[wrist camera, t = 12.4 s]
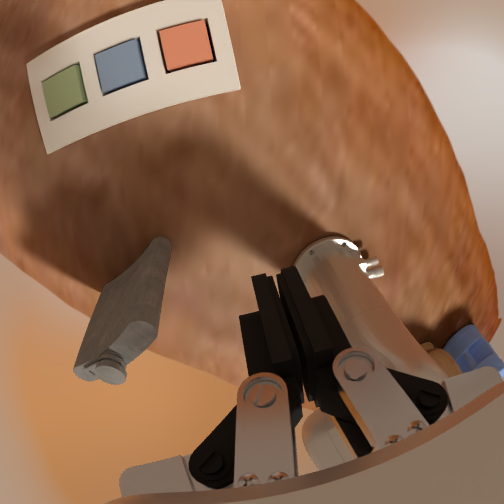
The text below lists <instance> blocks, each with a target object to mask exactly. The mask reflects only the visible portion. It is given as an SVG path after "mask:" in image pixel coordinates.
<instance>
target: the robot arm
mask: <svg viewBox="0 0 504 504" xmlns="http://www.w3.org/2000/svg"><path fill="white" fill-rule="evenodd" d="M377 264H378V258H377V257H376V256H375V257H371V258H369V259H366V260H365V259H362V255H361V253H360V250H359V249H358V248H357V246H356V245H355V244H354V243H353V242H352V241H350V240H349V239H346V238H343V237H338V236H332V237H326V238H322V239H319V240H317V241H315V242H313V243H312V244H310V245H309V246H307V247H306V248H305V249H304V250H303V251H302V252H301V253H300V255H299V256H298V257H297V259H296V261H295V263H294V265H293V267H289V268H285V269H281V274H277V275H276V277H277V283H278V289H279V294H278V291H277V288H276V286H275V283H274V280H273V277H272V276H268V277H267V276H266V274H265V273H264V274H260V275H256V276H252V277H251V278H252V282H253V287H254V291H255V295H256V299H257V304H258V308H259V311H257V312H253V313H249V314H244V315H240V316H239V320H240V326H241V332H242V338H243V345H244V351H245V357H246V362H247V368H248V374H249V377H248V378H247V379H245V380H244V381H243V382H242V384H241V385H240V387H239V389H238V394H237V405H236V406H235V407H234V408H233V409H232V410H231V412H230V413H229V414H228V415H227V416H226V417H225V419H223V420H222V422H221V423H220V424H219V425H218V426H217V427H216V428H215V429H214V430H213V431H212V433H211V434H210V435H209V436H208V437H207V438H206V439H205V440H204V441H203V442H202V443H201V444H200V445H199V446H198V447H197V448H196V449H195V450H194V452H193V453H192V454H190V455H187V456H184V457H182V456H181V455H179V456H176V457H172V458H169V459H165V460H161V461H156V462H152V463H148V464H144V465H139V466H134V467H131V468H128V469H126V470H125V471H124V472H123V473H122V474H121V477H120V480H119V482H120V490H121V494H122V498H118V499H115V500H112V501H109V502H107V503H105V504H504V381H503V379H502V377H501V375H500V373H499V372H498V370H496V369H495V368H494V367H490V366H486V367H481V368H479V369H476V370H472V371H469V372H466V373H463V374H460V375H456V376H453V377H448V375H447V374H446V373H445V371H444V370H443V369H442V368H441V366H440V365H439V364H438V363H437V362H436V361H435V360H434V359H433V358H432V357H431V356H430V355H429V354H428V353H427V352H426V351H425V350H424V349H423V348H422V346H421V345H420V344H419V343H418V342H417V341H416V340H415V338H414V337H413V336H412V334H411V333H410V332H409V331H408V329H407V328H406V327H405V325H404V324H403V322H402V321H401V320H400V318H399V317H398V316H397V314H396V313H395V311H394V310H393V309H392V308H391V306H390V305H389V303H388V302H387V301H386V299H385V298H384V297H383V295H382V294H381V293H380V291H379V290H378V288H377V287H376V286H375V284H374V283H373V282H372V281H371V279H372V278H378V277H381V276H383V275H384V270H383V267H382V266H381V265H380V266H376V267H373V268H371V269H368V270H366V268H367V267H368V266H373V265H377ZM279 295H280V297H279ZM302 383H303V384H302ZM303 386H304V389H305V392H306V395H307V398H308V401H309V402H310V401H313V400H314V402H315V405H316V408H317V407H320V408H319V409H318V410H316V411H314V412H313V413H312V414H311V415H310V416H308V418H307V419H306V420H305V422H304V424H303V427H302V440H303V443H304V446H305V449H306V451H307V453H308V455H309V456H310V458H311V460H312V461H313V462H314V464H315V465H316V466H317V468H318V469H319V470H320V471H317V472H313V473H309V474H306V475H301V476H298V463H297V451H296V450H297V449H296V436H295V427H296V425H297V424H298V423H299V421H300V419H301V418H302V417H303V414H302V405H301V404H303V403H304V394H303Z"/></svg>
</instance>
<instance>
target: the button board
mask: <svg viewBox="0 0 504 504" xmlns="http://www.w3.org/2000/svg"><path fill="white" fill-rule="evenodd" d="M201 20H205V24H208V28H209V33H210V37H211V42H212V46H213V51H214V56H215V60H216V62H212V63H207V64H203V65H198V66H194V67H190V68H186V69H182V70H179V71H175V72H172V73H168V70H167V65H166V61H165V56H164V52H163V47H162V43H161V38H160V33H159V31H161V30H165V29H168V28H172V27H176V26H180V25H184V24H188V23H192V22H196V21H201ZM134 39H136V40H138V41H139V42H141V45H142V50H143V55H144V59H145V64H146V68H147V73H148V77H149V80H146V81H143V82H140V83H137V84H134V85H131V86H128V87H126V88H123V89H120V90H118V91H115V92H113V93H103V91H102V87H101V82H100V78H99V73H98V68H97V64H96V59H95V55H96V54H99V53H101V52H103V51H105V50H108V49H110V48H113V47H115V46H118V45H120V44H123V43H125V42H128V41H131V40H134ZM26 65H27V72H28V78H29V83H30V89H31V94H32V99H33V103H34V108H35V112H36V116H37V120H38V124H39V128H40V131H41V135H42V139H43V142H44V145H45V149H46V152H47V155H48V154H50V153H52V152H54V151H57V150H59V149H61V148H63V147H65V146H67V145H69V144H71V143H73V142H76V141H78V140H80V139H82V138H84V137H87V136H89V135H91V134H94V133H96V132H98V131H101V130H103V129H106V128H108V127H111V126H114V125H116V124H119V123H121V122H124V121H127V120H130V119H133V118H135V117H138V116H141V115H144V114H147V113H150V112H153V111H157V110H160V109H163V108H166V107H170V106H173V105H177V104H180V103H184V102H188V101H192V100H196V99H200V98H204V97H208V96H212V95H217V94H221V93H226V92H231V91H236V90H240V89H241V86H240V82H239V77H238V72H237V68H236V63H235V58H234V54H233V49H232V44H231V40H230V35H229V31H228V26H227V22H226V18H225V13H224V9H223V5H222V0H164V1H161V2H157V3H154V4H151V5H147V6H144V7H141V8H138V9H135V10H132V11H130V12H127V13H124V14H122V15H119V16H116V17H114V18H111V19H109V20H107V21H104V22H102V23H100V24H97V25H95V26H93V27H91V28H89V29H87V30H84V31H82V32H80V33H78V34H76V35H74V36H72V37H71V38H69V39H67V40H65V41H63V42H61V43H59V44H58V45H56V46H54V47H52V48H51V49H49V50H47V51H46V52H44V53H42V54H41V55H39V56H38V57H36V58H34V59H33V60H31V61H30V62H28V63H27V64H26ZM73 65H80V67H81V72H82V77H83V82H84V86H85V90H86V95H87V99H88V103H87V104H85V105H83V106H81V107H78V108H76V109H74V110H72V111H70V112H68V113H66V114H64V115H62V116H57V117H53V118H50V117H49V113H48V109H47V105H46V101H45V96H44V92H43V87H42V82H44V81H46V80H48V79H49V78H51V77H53V76H54V75H56V74H58V73H60V72H62V71H64V70H65V69H67V68H69V67H71V66H73Z"/></svg>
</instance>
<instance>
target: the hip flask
mask: <svg viewBox="0 0 504 504" xmlns="http://www.w3.org/2000/svg"><path fill="white" fill-rule="evenodd" d="M171 250H172V244H171V242H170V240H169V239H168V238H166V237H163V236H158V237H156V238H154V239H153V240H152V242H151V243H150V245H149V246H148V247H147V249H146V250H145V251H144V252H143V254H142V255H141V256H140V257H139V258H138V259H137V260H136V261H135V262H134V263H133V264H132V265H131V266H130V267H129V268H128V269H127V270H125V271H124V272H123V273H122V274H121V275H119V276H118V277H116V278H115V279H114V280H112V281H110V282H109V283H107V284H105V285H104V287H103V290H102V292H101V294H100V297H99V299H98V302H97V304H96V307H95V309H94V312H93V314H92V317H91V319H90V322H89V325H88V327H87V330H86V333H85V336H84V338H83V341H82V344H81V347H80V350H79V353H78V356H77V359H76V362H75V365H74V369H73V371H74V373H75V375H76V376H78V377H79V378H81V379H83V380H85V381H94V380H97V379H101V380H102V381H104V382H106V383H109V384H114V385H119V384H123V383H124V382H125V380H126V375H127V373H126V370H125V369H126V365H127V364H128V363H130V362H131V361H133V360H134V359H135V358H136V357H138V356H139V355H140V354H141V353H142V352H143V351H144V350H146V349H147V348H148V347H149V346H150V345H151V343H152V342H153V341H154V340H155V339H156V337H157V334H158V327H159V320H160V313H161V307H162V300H163V294H164V288H165V282H166V276H167V271H168V265H169V260H170V255H171Z"/></svg>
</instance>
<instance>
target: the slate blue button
mask: <svg viewBox="0 0 504 504" xmlns="http://www.w3.org/2000/svg"><path fill="white" fill-rule="evenodd" d="M95 59H96V64H97V68H98V73H99V78H100V82H101V87H102V91H103V93H111V92H114V91H116V90H119V89H122V88H124V87H127V86H130V85H132V84H135V83H138V82H141V81H144V80H147V79H149V77H148V73H147V68H146V64H145V59H144V55H143V50H142V45H141V43H140V42H139V41H138V40H136V39H134V40H131V41H128V42H125V43H123V44H120V45H118V46H115V47H113V48H110V49H108V50H105V51H103V52H101V53H99V54H96V55H95Z"/></svg>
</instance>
